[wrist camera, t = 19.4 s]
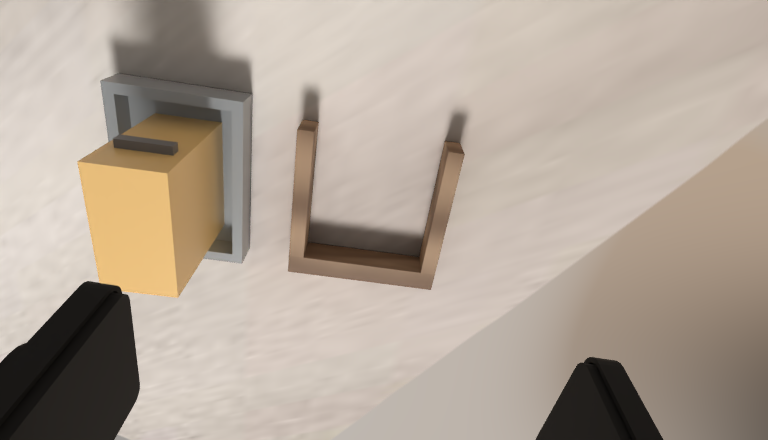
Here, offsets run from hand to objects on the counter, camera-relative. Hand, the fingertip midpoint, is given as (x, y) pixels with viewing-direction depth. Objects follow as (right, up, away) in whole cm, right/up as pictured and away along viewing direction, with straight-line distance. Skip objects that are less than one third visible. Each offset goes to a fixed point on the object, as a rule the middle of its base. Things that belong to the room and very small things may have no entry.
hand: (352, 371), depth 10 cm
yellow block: (-15, +7, +28) cm, 32 cm away
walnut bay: (0, +5, +29) cm, 30 cm away
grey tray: (-15, +7, +28) cm, 33 cm away
